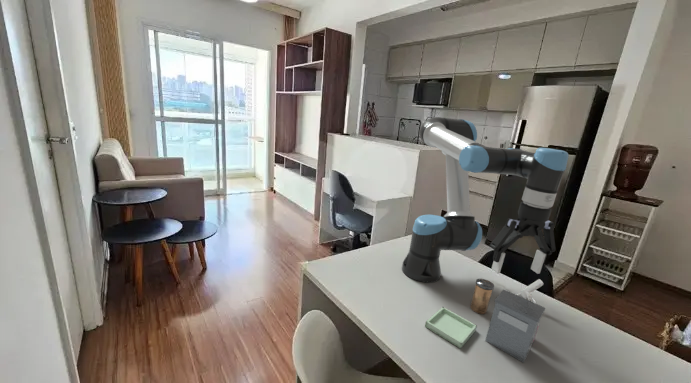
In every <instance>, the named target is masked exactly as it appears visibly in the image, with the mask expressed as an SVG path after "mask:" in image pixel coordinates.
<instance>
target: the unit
mask: <svg viewBox="0 0 691 383" xmlns="http://www.w3.org/2000/svg"><path fill="white" fill-rule="evenodd" d="M494 303H495V304H494V307H493V311H492V315H491V318H490V322H489V326H488V329H487V332H486V336H485V341H484V342H487V343H488V344H491V345H492V346H494V347H496V348H497V349H499V350H500V351H503V352H504V353H506V354H508V355H510V356H511V357H513V358H515V359H517V360H518V361H520V362H522V363H523V364H524V363H525V361H526V359H527V357H528V356H529V353H530V351H531V348H532V346H533V343H534V341H535V339H534V337H535V338H536V336H535V334H536V335H537V333H536V331H537V332H538V330H537V328H538V329H539V327H538V325H539V326H540V321H541V318H542V317H543V315H544V313H545V310H546V307H544V306H542V305H540V304H538V303H537V302H536V303H533V302H531V301H529V300H527V299H524V298H522V297H520V296H518V295H516V294H515V293H513V292H510V291H509V290H506V289H502V291H500V293H499V294H498V295H497V297H496V298H495V299H494ZM533 340H534V341H533Z"/></svg>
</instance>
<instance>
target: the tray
mask: <svg viewBox="0 0 691 383" xmlns="http://www.w3.org/2000/svg"><path fill="white" fill-rule="evenodd" d="M424 327H425V328H427V329H428V330H429V331H430V332H431V331H432V332H433V333H434V334H436V335H438V336H439V337H441V338H442V339H444V340H445V341H447V342H449V343H450V344H452V345H454V346H455V347H457V348H459V349H460V350H461V349H462V348H463V346H464V345H466V343H467V341H469V339H470V338H471V337H472V336H473V334H474V333H476V331H477V327H478V325H476V324H475V323H473V322H471V321H470V320H468V319H466V318H465V317H463V316H460V315H459V314H457V313H455V312H453V311H451V310H450V309H449V308H446V307H444V306H442V307H440V308H439V309H438V310H437V311H436V312H435V313H434V314H433V315H431V316H430V317H429V318H428V319H427V320H426V321H425V324H424Z"/></svg>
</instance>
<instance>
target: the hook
mask: <svg viewBox="0 0 691 383" xmlns="http://www.w3.org/2000/svg"><path fill="white" fill-rule="evenodd" d="M544 285H545V284H544V282H543V280H541V279H540V278H538V279H536V280H535V281H534V282H532V283H530V284H528V285H527V286H525V288H523V289H522V290H521V291H520V293H516V294H515V295H518V296H520V297H522V298H524V299H527V300H529V301H531V302H533V303H536V304H537V301H536V300H535V299H534V298H533V295H532V293H533V292H534V291H537V289H539V288H541V287H542V286H544Z"/></svg>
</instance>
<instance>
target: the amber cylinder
mask: <svg viewBox="0 0 691 383" xmlns="http://www.w3.org/2000/svg"><path fill="white" fill-rule="evenodd" d="M494 288H495V285H494V283H492V282H491V281H490V280H488V279H486V278H477V279H476V281H475V287H474V290H473V294H472V299H471V302H470V310H472V311H473V312H474V313H476V314H479V315H485V314H486V313H487V312H488V308H489V304H490V299H491V297H492V292H493V290H494Z"/></svg>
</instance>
